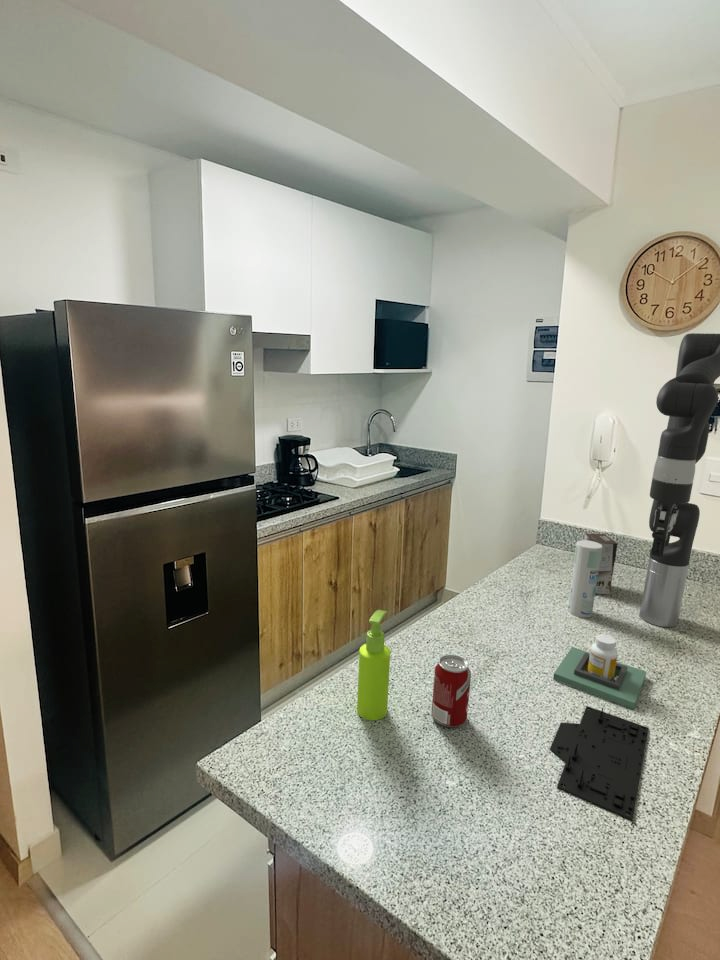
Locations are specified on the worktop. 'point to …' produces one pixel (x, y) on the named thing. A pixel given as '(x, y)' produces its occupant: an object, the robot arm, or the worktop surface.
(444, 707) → the soda can
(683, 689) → the worktop surface
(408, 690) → the worktop surface
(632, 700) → the socket board
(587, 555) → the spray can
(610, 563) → the coffee box
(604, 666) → the supplement bottle
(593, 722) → the circuit board
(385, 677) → the soap dispenser
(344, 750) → the worktop surface
